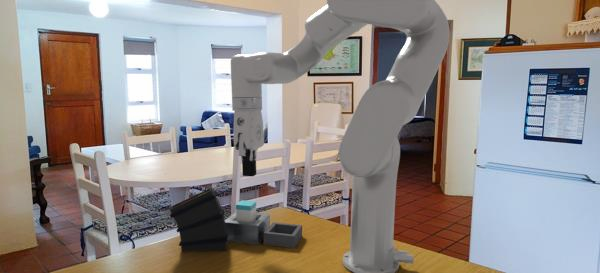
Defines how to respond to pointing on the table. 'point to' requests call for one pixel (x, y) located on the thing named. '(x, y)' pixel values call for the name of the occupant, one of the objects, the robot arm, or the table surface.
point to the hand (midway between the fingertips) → (249, 175)
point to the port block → (247, 229)
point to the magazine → (201, 223)
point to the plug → (246, 211)
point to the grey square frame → (283, 235)
